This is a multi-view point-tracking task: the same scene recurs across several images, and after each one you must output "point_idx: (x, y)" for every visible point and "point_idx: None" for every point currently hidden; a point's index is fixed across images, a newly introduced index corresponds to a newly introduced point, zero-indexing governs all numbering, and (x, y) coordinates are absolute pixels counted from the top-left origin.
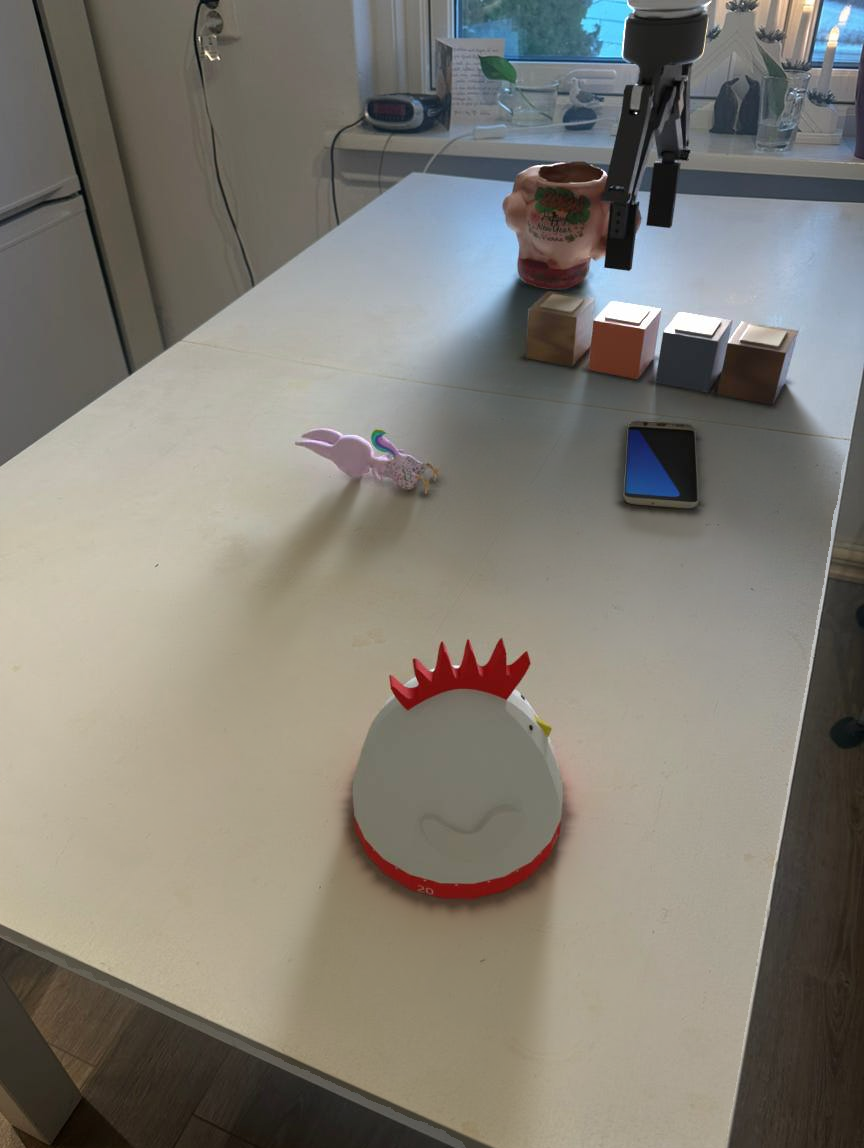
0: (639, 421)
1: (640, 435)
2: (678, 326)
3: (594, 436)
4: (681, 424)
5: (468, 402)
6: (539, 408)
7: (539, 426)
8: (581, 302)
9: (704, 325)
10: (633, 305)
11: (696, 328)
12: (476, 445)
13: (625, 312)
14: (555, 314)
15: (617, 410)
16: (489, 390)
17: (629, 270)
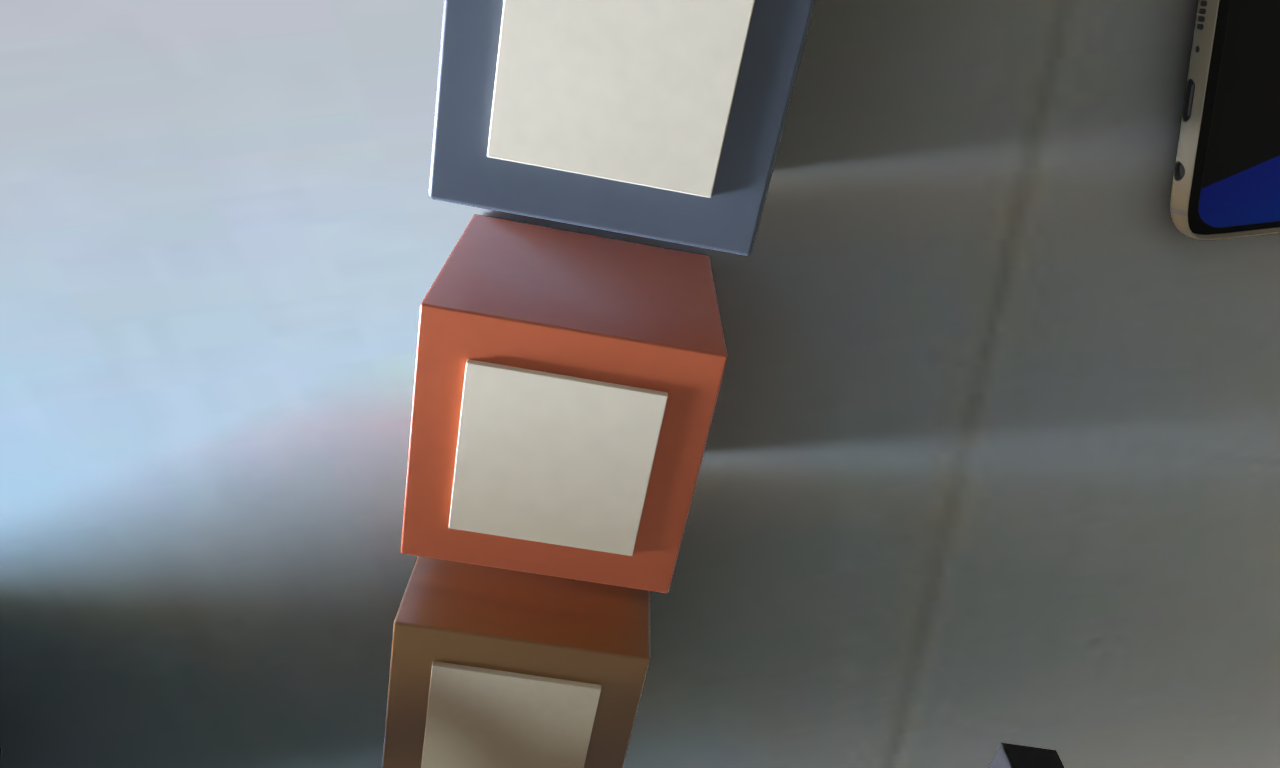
0: (1179, 200)
1: (1249, 175)
2: (675, 181)
3: (1227, 346)
4: (1205, 5)
5: (981, 746)
6: (1008, 555)
7: (1145, 532)
8: (470, 668)
9: (620, 17)
10: (422, 449)
11: (682, 66)
12: (1274, 673)
13: (546, 476)
14: (629, 735)
15: (1005, 295)
16: (888, 712)
17: (1049, 751)
